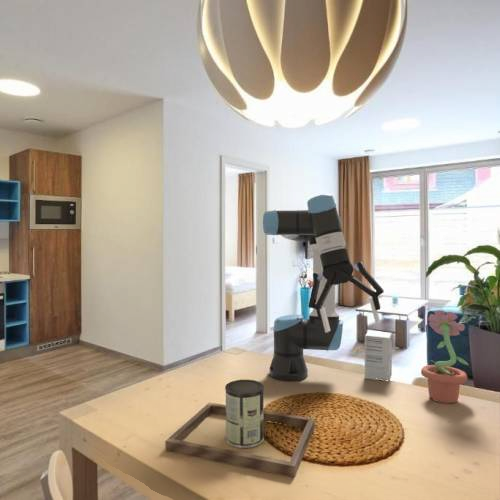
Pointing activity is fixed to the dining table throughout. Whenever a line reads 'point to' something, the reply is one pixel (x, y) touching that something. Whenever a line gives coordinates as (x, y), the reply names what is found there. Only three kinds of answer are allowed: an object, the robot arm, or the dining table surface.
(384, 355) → the supplement box
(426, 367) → the decorative flower
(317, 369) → the dining table surface
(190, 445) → the walnut frame
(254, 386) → the coffee can
